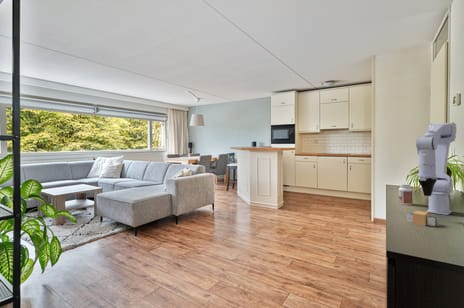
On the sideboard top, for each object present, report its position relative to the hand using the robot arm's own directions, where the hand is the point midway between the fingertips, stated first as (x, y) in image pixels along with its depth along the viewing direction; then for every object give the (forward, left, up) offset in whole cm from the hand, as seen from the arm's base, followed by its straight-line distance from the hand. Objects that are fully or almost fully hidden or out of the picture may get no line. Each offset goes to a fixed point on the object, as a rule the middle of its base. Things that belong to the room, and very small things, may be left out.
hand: (427, 195), depth 105 cm
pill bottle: (-26, -16, -10) cm, 32 cm away
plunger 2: (+10, +3, -10) cm, 14 cm away
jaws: (+9, 0, -10) cm, 13 cm away
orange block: (+11, 0, -10) cm, 15 cm away
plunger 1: (+10, -3, -10) cm, 14 cm away
